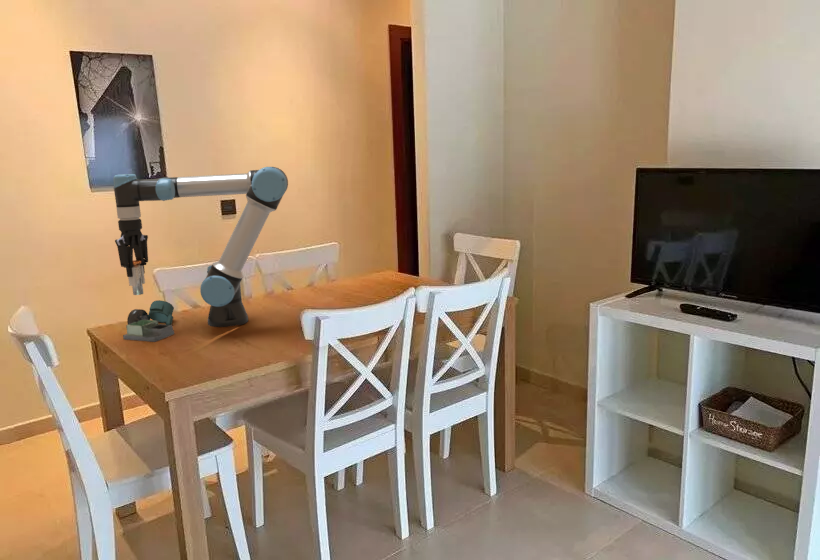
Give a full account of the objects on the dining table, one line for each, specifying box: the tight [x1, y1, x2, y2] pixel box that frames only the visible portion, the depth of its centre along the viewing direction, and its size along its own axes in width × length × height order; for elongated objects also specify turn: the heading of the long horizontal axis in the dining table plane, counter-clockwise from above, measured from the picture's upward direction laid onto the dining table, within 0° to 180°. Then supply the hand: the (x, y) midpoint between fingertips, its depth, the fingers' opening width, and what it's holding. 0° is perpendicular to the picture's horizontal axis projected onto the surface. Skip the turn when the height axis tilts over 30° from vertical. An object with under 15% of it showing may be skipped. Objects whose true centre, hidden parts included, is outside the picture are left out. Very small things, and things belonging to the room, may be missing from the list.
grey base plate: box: [122, 319, 175, 343], centre depth 231 cm, size 14×10×5 cm
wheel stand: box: [127, 308, 149, 325], centre depth 238 cm, size 6×8×8 cm
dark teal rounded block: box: [147, 299, 175, 325], centre depth 247 cm, size 9×9×9 cm
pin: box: [128, 259, 144, 296], centre depth 228 cm, size 4×4×12 cm
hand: (137, 284), depth 228 cm, fingers closed on pin, 3 cm apart
